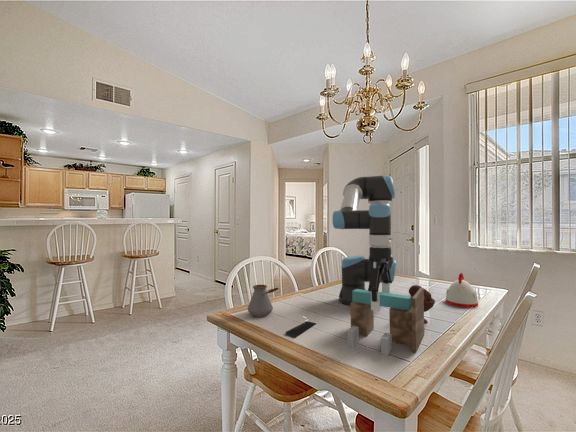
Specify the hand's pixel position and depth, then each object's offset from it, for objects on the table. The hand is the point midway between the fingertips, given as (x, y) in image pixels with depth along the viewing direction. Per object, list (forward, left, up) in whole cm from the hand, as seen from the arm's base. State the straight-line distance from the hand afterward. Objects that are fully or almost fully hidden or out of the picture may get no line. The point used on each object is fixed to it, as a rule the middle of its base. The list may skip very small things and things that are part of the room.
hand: (380, 305), depth 104 cm
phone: (-27, -9, -12) cm, 31 cm away
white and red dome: (+22, +63, -12) cm, 68 cm away
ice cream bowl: (+9, +25, -12) cm, 29 cm away
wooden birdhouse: (+8, 0, -12) cm, 14 cm away
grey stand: (0, -12, -12) cm, 17 cm away
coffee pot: (-49, -5, -12) cm, 51 cm away
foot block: (-7, 0, -12) cm, 14 cm away
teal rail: (0, 0, -5) cm, 5 cm away
